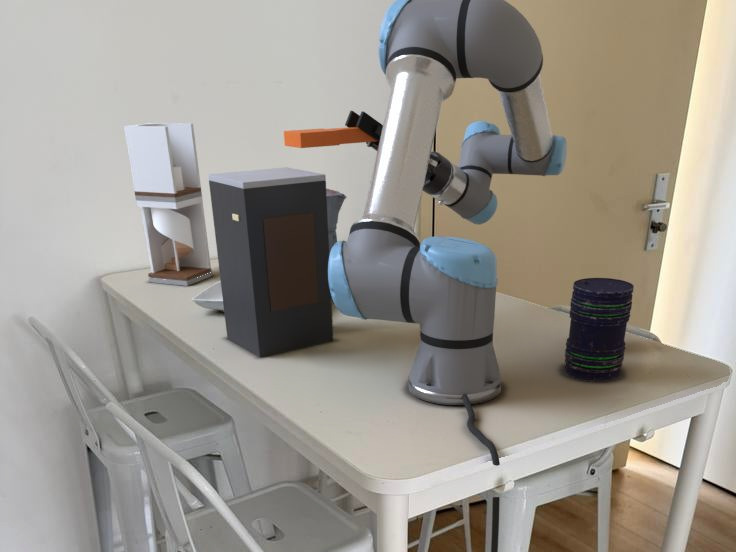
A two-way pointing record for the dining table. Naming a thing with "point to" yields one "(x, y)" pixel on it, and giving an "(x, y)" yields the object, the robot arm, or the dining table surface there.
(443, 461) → the dining table surface
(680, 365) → the dining table surface
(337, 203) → the moka pot
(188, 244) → the white tall stand
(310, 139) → the key
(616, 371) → the dark blue cylinder
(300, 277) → the tall dark grey cabinet
